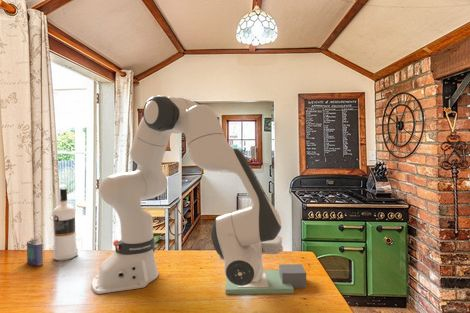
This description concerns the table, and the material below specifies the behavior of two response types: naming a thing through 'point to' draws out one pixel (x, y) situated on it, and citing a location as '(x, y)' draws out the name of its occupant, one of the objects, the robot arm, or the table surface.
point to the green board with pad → (273, 281)
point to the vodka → (64, 229)
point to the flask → (34, 253)
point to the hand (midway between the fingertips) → (252, 235)
